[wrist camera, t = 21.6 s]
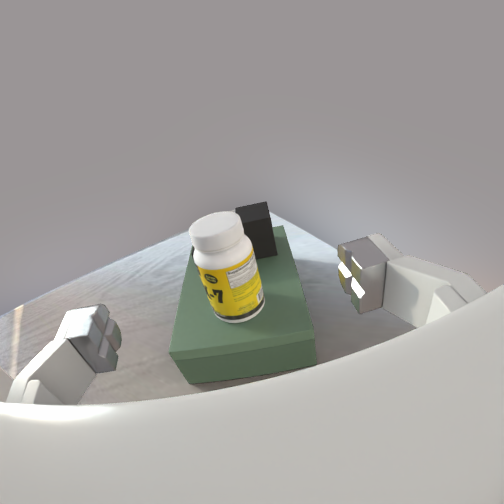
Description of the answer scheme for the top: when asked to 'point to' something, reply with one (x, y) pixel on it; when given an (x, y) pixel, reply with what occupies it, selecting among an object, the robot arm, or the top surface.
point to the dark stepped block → (257, 229)
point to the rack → (245, 326)
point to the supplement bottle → (227, 266)
